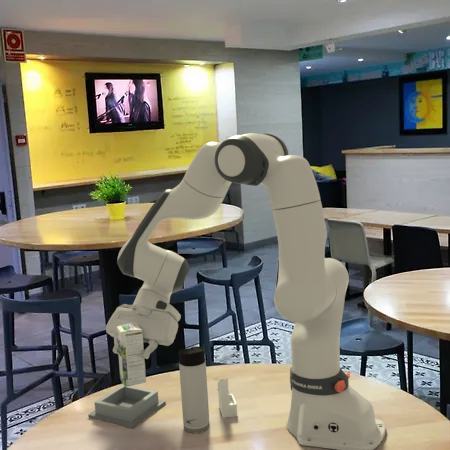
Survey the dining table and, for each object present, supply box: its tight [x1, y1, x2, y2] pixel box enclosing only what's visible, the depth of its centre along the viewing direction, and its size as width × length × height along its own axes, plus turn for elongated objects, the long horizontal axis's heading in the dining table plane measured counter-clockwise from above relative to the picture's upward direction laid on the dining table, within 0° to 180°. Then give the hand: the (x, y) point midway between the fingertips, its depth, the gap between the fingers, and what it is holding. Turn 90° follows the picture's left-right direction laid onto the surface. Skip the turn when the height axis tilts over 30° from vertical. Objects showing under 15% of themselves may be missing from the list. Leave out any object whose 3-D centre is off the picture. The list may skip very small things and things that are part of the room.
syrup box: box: [117, 323, 147, 387], centre depth 151 cm, size 6×6×14 cm
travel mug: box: [178, 346, 211, 434], centre depth 140 cm, size 6×7×20 cm
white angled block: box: [217, 378, 238, 419], centre depth 147 cm, size 4×10×9 cm, turn 10°
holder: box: [87, 383, 167, 430], centre depth 151 cm, size 14×14×4 cm
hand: (129, 355), depth 151 cm, fingers closed on syrup box, 8 cm apart
